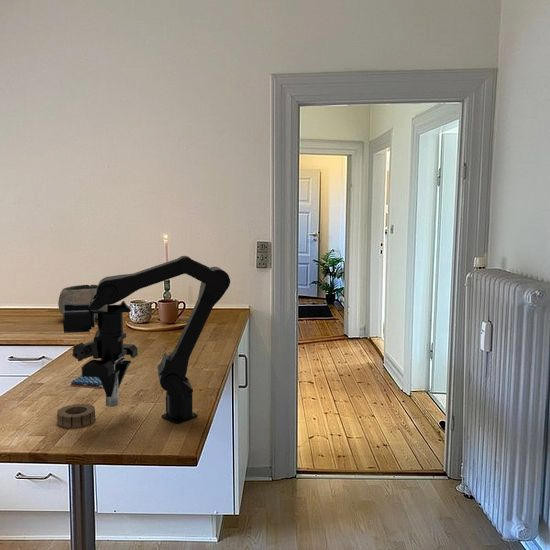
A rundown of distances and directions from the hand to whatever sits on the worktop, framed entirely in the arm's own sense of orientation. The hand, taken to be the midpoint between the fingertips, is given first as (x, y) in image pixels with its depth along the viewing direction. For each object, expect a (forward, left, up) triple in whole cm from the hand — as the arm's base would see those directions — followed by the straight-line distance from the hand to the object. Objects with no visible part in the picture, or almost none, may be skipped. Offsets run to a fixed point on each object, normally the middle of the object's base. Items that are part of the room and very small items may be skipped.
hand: (112, 394), depth 133 cm
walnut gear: (+8, +5, -7) cm, 12 cm away
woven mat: (+30, -14, -8) cm, 34 cm away
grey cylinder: (0, 0, -2) cm, 2 cm away
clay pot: (+105, -57, -8) cm, 120 cm away
